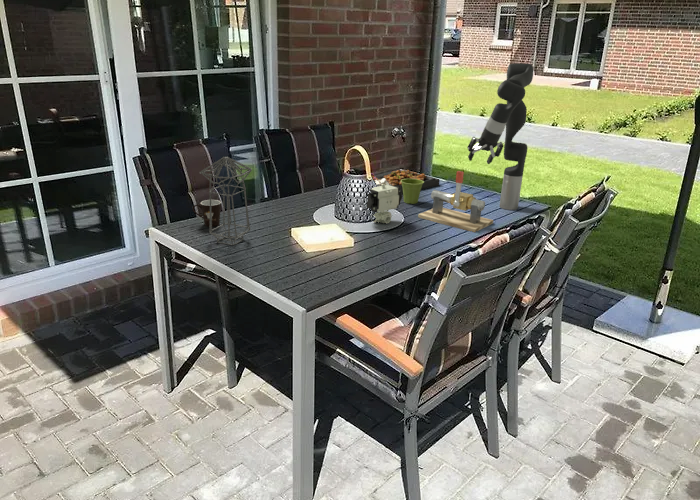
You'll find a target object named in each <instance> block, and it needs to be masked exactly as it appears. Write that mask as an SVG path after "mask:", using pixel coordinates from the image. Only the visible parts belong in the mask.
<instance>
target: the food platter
mask: <svg viewBox="0 0 700 500" xmlns="http://www.w3.org/2000/svg"><path fill="white" fill-rule="evenodd" d="M370 173H371V175H372V177H373V180H374V181H375V183H376V186H382V184H385V185H389V184H390V185H393V186H395V187H398V188H400V191H401V193H402V194H403V187H402V182H401V180H402V179H418V180H422V181H424V183H423V184H422V187H421V190H424V189H429V188H435V187H439V186H440V179H439V178H436V177H432V176H430V175H429V176H428V175H426V174H425V173H419V172H416V171H411V170H409V169H402V170H401V169H398V170H392V171H391V172H390V173H389V174H385V175H379V176H375V174H374V173H373V172H370Z"/></svg>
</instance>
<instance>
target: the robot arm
mask: <svg viewBox="0 0 700 500" xmlns="http://www.w3.org/2000/svg"><path fill="white" fill-rule="evenodd" d="M533 78H534V66H533V65H532V64H530V63H524V62H523V63H518V62H517V63H510V64H509V65H508V67H507V69H506V79H505V80H503V81H502V82H501V83H500V84H499V85H498V87H497V91H496V94H497V96H498V97H499V99H502V100H504V101H506V103H500V102H499V103H497V104H495V106H494V108H493V110H492V112H491V114H490V116H489V118H488V119H487V122H486V124H485V126H484V128H483V131H482V133H481V136H480V137H479V138H476V137H475V136H472V138H471V140H470V141H469V143H468V144H467V145H468V146H466V148H467V150H468V152H469V154H468V156H467V157H468V160H469V162H471V161H473V157H474V156H475V153H477V152H480V151H481V150H482V151H486V152H489V153H490V154H489V156H488V157H487V160H486V163H487V165H490V164H492V162H493V161H494V158H495V157H497V158H498V157H500V155H501V153H502V151H503V158H504V160H505V161H510V162H517V164H515V165H512V166H507V167H506V168H504V171H503V178H502V185H501V193H500V200H499V208H500V209H503V210H508V211H513V210H514V211H515V210H518V209H519V204H520V203H519V202H520V196H521V190H522V182H523V177H524V172H525V171H524V170H525V163H526V159H527V154H528V144H527V143H523V142H517V141H516V142H515V141H513V139H514V138H515V136H516V135H517V134H518V132H519V131H520V130H522V128H523V127H524V126H525V124H526V122H527V112H528V110H527V106H526V104H525V103H524V101H523V100H524V98H525V96H526V89H525V88H526V87H527V86H530V84H531V83H532V81H533ZM504 131H505V136H504V144H503V142H502V141H500V139H501V136H502V134H503V133H504ZM499 141H500V142H499ZM496 147H497V148H496ZM494 148H496V150H494Z"/></svg>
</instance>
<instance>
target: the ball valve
mask: <svg viewBox="0 0 700 500" xmlns="http://www.w3.org/2000/svg"><path fill="white" fill-rule="evenodd" d="M370 191H371V193H369V194H368V202H367V208H371V211H370V212H374V213H375V214H374V213H373V214H374V215H373V214H372V215H373V216H375V218H376V219H375V220H374V221H373V222H372V223H374V222H375V224H379V222H380V223H381V224H384V223H386V224H390V223H391V221H392V213H391V212H390V211H391V210H395V209H399V206H401V201H402V200H403V193H401V191H400V188H398V187H395V186H393V185H390V184H389V185H385V184H382V186H377V187H374V188H372V189H370ZM376 222H378V223H376Z"/></svg>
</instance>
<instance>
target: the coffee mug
mask: <svg viewBox="0 0 700 500" xmlns="http://www.w3.org/2000/svg"><path fill="white" fill-rule="evenodd" d="M221 206H222V202H221V201H220V200H218V199H211V212H212V228H213V227H218V226H220V225H221V224H220V223H221ZM195 207H199V208H200V210H201V213H202V214H199V213H198V212H196V211H195ZM192 211H193V212H194V214H196V215H197V216H198V217H200V218H202V219H203V223H204V226H205V227H209V228H210V199H207V200H206V199H205V200H202V201H201V202H200V204H195V205H193V206H192Z"/></svg>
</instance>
